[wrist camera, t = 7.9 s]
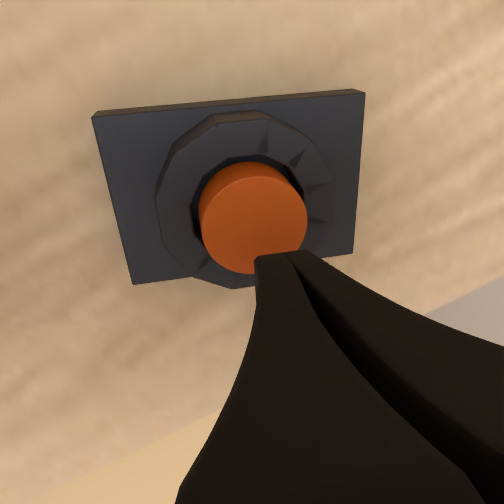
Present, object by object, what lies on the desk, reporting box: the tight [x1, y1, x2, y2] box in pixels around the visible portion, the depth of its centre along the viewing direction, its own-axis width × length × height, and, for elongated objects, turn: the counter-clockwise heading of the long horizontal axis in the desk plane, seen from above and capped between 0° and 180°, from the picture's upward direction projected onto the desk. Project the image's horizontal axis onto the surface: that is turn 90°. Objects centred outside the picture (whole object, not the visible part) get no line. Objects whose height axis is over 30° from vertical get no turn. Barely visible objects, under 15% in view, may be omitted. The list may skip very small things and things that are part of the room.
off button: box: [198, 161, 307, 274], centre depth 14 cm, size 4×4×2 cm
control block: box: [91, 89, 365, 289], centre depth 16 cm, size 10×7×3 cm
